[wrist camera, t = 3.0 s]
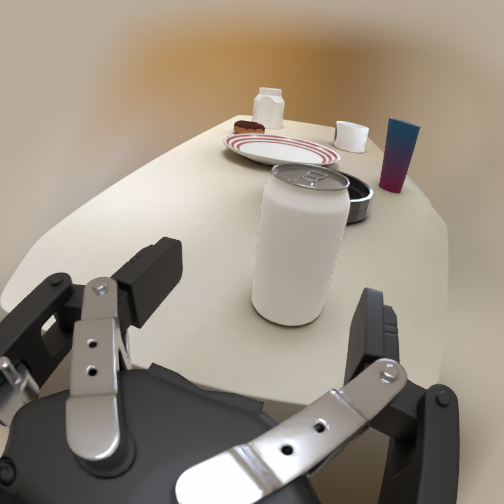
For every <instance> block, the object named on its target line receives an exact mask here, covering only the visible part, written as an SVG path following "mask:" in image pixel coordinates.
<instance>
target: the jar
mask: <svg viewBox="0 0 504 504" xmlns="http://www.w3.org/2000/svg"><path fill="white" fill-rule="evenodd" d="M259 89H260V90H259V94H258V95H257V96H256V98H255V99H254V107H253V118H252V122H257V123H259V124H262V125H263V126H264V127H265V128H269V129H281V128H282V122H283V113H284V105H285V102H284V100H283V98H282V96H281V92H282V90H280V89H273V88H261V87H260V88H259Z"/></svg>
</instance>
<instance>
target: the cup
mask: <svg viewBox="0 0 504 504" xmlns="http://www.w3.org/2000/svg"><path fill="white" fill-rule="evenodd" d="M419 129H420V126H418V125H415V124H412V123H409V122H406V121H403V120H399V119H396V118H391V117H389V122H388V130H387V138H386V145H385V152H384V159H383V165H382V171H381V177H380V183H379V186H380V187H382V188H383V189H385V190H388V191H391V192H396V193H399V192H401V189H402V186H403V183H404V180H405V177H406V174H407V171H408V167H409V164H410V161H411V158H412V154H413V151H414V147H415V144H416V140H417V136H418V133H419Z"/></svg>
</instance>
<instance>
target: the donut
mask: <svg viewBox="0 0 504 504" xmlns="http://www.w3.org/2000/svg"><path fill="white" fill-rule="evenodd" d="M234 131H235V132H236V133H238V134H248V133H255V134H264V133H265V132H264V131H265V127H264V126H263V125H262V124H259V123H257V122H249V121H242V120H241V121H237V122H235V124H234Z"/></svg>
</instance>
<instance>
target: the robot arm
mask: <svg viewBox="0 0 504 504" xmlns="http://www.w3.org/2000/svg"><path fill="white" fill-rule="evenodd" d="M182 272H183V265H182V244H181V241H180V240H176V239H172V238H168V237H163V238H162V239H160V240H159V241H158V242H157V243H156V244H155V245H150V246H148V247H145V248H143V249H141V250H140V251H139V252H138V253H137V254H136V255H135V257H134V256H133V257H132V258H131V259H130V260H129V262H127V263H126V264H124V265H123V266H122V267H121V268H120V269H119V270H118V271H117V272H116V273H114V274H113V275H112V276H111V277H110V278H109V277H99V278H96V279H93V280H91V281H90V282H89V283H88V284H87V285H77V284H73V283H72V280H71V277H70V275H68V274H67V273H55V274H52V275H50V276H49V277H47V278H46V279H45V280H44V281H43V282H42V283H41V284H39V285H38V286H37V287H36V288H35V289H34V290H33V291H32V292H31V293H30V294H29V295H28V296H27V297H25V298H24V299H23V300H22V301H21V302H20V303H19V304H18V305H17V306H16V307H15V308H14V309H13V310H12V311H11V312H10V313H9V314H8V315H7V316H6V317H5V318H4V319H3V320H2V321H1V323H0V424H1V425H3V426H7V427H9V428H10V430H9V436H8V440H7V444H6V447H5V450H4V452H3V454H2V456H1V458H0V504H321V503H320V501H319V499H318V497H317V495H316V493H315V491H314V489H313V487H312V485H311V483H310V481H309V478H310V477H312V476H313V475H314V474H316V473H317V472H318V471H320V470H321V469H322V468H323V467H325V466H326V465H327V464H329V463H330V462H331V461H332V460H333V459H334V458H335V457H337V456H338V455H339V454H340V453H341V452H342V451H344V450H345V449H346V448H347V447H348V446H350V444H352V443H353V442H354V441H355V440H356V439H358V438H359V437H360V436H361V435H362V434H363V433H364V432H365V431H366V430H368V429H369V428H370V427H372V428H374V429H376V430H378V431H380V432H382V433H384V434H386V435H388V436H390V440H389V447H388V454H387V460H386V466H385V471H384V477H383V481H382V486H381V491H380V496H379V501H378V504H456V500H457V490H458V476H459V446H460V444H459V442H460V440H459V411H458V410H459V409H458V399H457V396H456V394H455V393H454V392H453V391H452V390H451V389H450V388H449V387H447V386H445V385H442V384H435V385H432V386H431V387H429V389H428V390H426V389H424V388H422V387H420V386H418V385H416V384H414V383H412V382H411V381H410V380H408V379H407V373H406V371H405V369H404V368H403V366H402V365H401V364H400V362H399V342H398V328H397V316H396V314H395V312H394V311H393V309H392V307H391V306H387V305H383V292H382V291H377V290H373V289H369V288H364V290H363V293H362V295H361V298H360V301H359V303H358V306H357V308H356V311H355V313H354V316H353V319H352V322H351V327H350V335H349V344H348V353H347V362H346V370H345V377H344V384H343V387H342V388H341V389H340V390H338V391H337V390H336V389H332V390H330V391H329V392H327V393H326V394H324V395H323V396H321V397H320V398H319V399H317V400H316V401H314V402H313V403H311V404H310V405H308V406H307V407H305V408H304V409H302V410H301V411H299V412H298V413H296V414H295V415H293V416H292V417H290V418H288V419H287V420H285V421H284V422H282V423H281V424H279V422H277V421H276V420H275V419H274V418H273V417H271V416H270V415H269V414H267V413H265V412H264V411H262V409H263V405H264V402H261V401H257V400H254V399H251V398H247V397H244V396H241V395H238V394H235V393H226V392H217V391H209V390H203V389H200V388H199V387H197V386H196V385H194V384H193V383H191V382H190V381H188V380H187V379H186V378H184V377H183V376H181V375H180V374H178V373H177V372H174V371H172V370H169V369H167V368H164V367H162V366H159V365H157V364H155V363H152V364H151V366H150V367H149V368H148V370H147V369H132V367H131V358H130V347H129V334H128V328H129V326H130V325H132V326H135V327H137V328H139V329H140V328H141V327H142V326H143V325H144V324H145V322H146V321H147V320H148V319H149V317H150V316H151V315H152V314H153V313H154V311H155V310H156V309H157V308H158V307H159V305H160V304H161V303H162V302H163V300H164V299H165V298H166V297H167V296H168V294H169V293H170V292H171V291H172V290H173V289H174V287H175V286H176V285H177V284H178V283H179V281H180V279H181V276H182ZM52 315H54V317H55V319H56V322H55V323H54V324H53V325H52V326H51V327H50V328H49V329H48V330H47V332H46V333H45V334H44V335H43V336H41V328H42V326H43V325H44V324H45V322H46V321H47V320H48V319H49V318H50V317H51V316H52ZM71 349H72V358H71V376H70V389H68V390H65V391H62V392H58V393H55V394H52V395H49V396H46V397H43V398H40V399H38V396H39V390H40V388H41V387H42V386H43V384H44V383H45V382H46V380H47V379H48V378H49V376H50V375H51V374H52V372H53V371H54V370H55V369H56V368H57V366H58V365H59V364H60V362H61V361H62V360H63V359H64V357H65V356H66V355H67V354H68V352H69V351H70V350H71Z"/></svg>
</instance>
